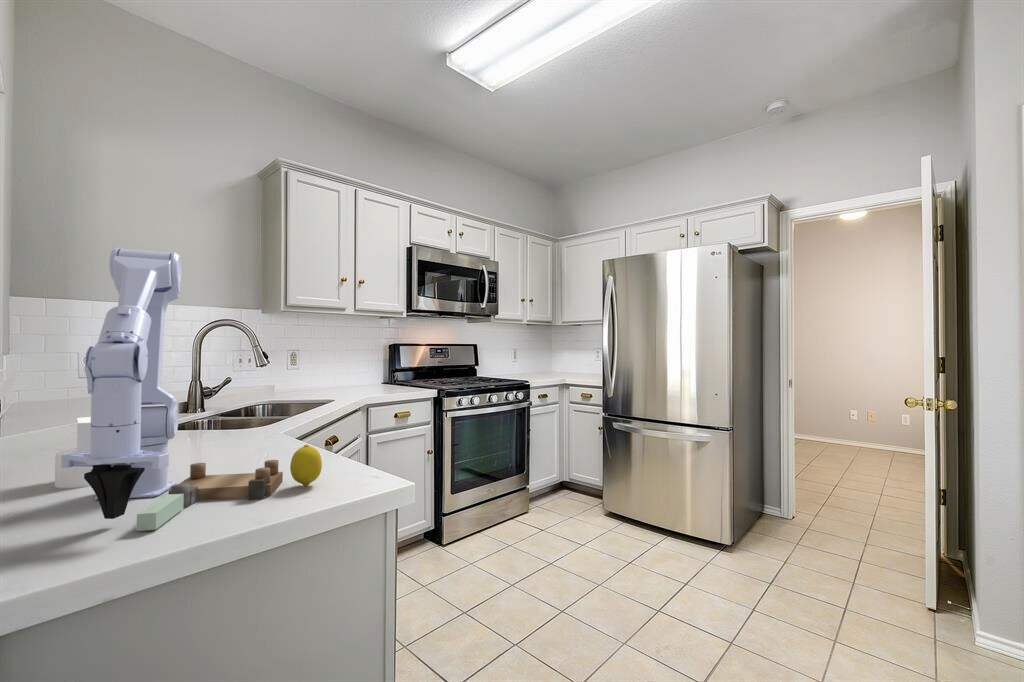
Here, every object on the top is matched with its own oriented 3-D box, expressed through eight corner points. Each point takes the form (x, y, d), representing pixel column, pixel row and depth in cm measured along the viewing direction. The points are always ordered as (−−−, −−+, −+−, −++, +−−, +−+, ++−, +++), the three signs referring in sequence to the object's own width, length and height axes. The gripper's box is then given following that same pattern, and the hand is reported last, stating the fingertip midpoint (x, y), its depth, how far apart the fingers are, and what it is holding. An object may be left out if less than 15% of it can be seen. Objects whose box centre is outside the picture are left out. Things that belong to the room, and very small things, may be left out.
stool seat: (155, 510, 77) (156, 482, 77) (190, 486, 90) (191, 462, 90) (263, 504, 80) (264, 477, 80) (282, 481, 93) (282, 459, 93)
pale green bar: (166, 509, 76) (166, 494, 76) (183, 508, 77) (183, 493, 77) (136, 530, 68) (136, 514, 68) (155, 529, 68) (156, 512, 68)
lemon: (326, 482, 93) (327, 442, 93) (312, 491, 88) (312, 448, 88) (300, 481, 94) (300, 441, 94) (283, 490, 88) (284, 447, 88)
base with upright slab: (118, 481, 92) (119, 420, 92) (54, 491, 86) (55, 425, 86) (114, 472, 99) (116, 415, 99) (55, 480, 93) (56, 419, 93)
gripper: (40, 427, 66) (38, 525, 66) (142, 429, 66) (140, 527, 66) (87, 420, 73) (85, 508, 73) (179, 421, 73) (178, 510, 73)
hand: (114, 516), depth 70 cm, fingers closed
